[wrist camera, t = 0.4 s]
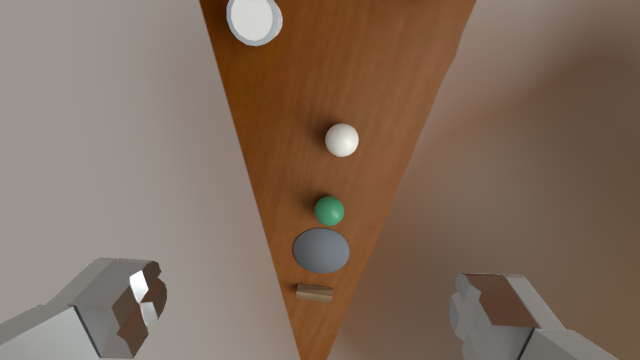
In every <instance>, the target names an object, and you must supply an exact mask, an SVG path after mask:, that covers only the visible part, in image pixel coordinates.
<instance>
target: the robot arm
mask: <svg viewBox="0 0 640 360" xmlns="http://www.w3.org/2000/svg"><path fill="white" fill-rule="evenodd" d="M160 273H161V269H160V267H159V264H158V262H155V261H150V260H135V259H113V258H99V259H96V260H94V261H93V262H92V263H91V264H90V265H89V266H88V267H86V268H85V269H84V270H83V271H82V272H81V273H80V274H79V275H78V276H77V277H76V278H74V279H73V280H72V281H71V282H70V283H69V284H68V285H67V286H66V287H65V288H64V289H62V290H61V291H60V292H59V293H58V294H57V295H56V296H55V297H54V298H53V299H52V300H51V301H50V302H49V303H47V304H46V305H38V306H36V307H34V308H32V309H30V310H28V311H26V312H24V313H22V314H20V315H18V316H16V317H14V318H12V319H10V320H8V321H5V322H3V323H1V324H0V360H100V359H99V358H130V359H131V358H132V359H133V358H134V357H135V355H136V353H137V352H138V350H139V349H140V347H141V346H142V344H143V343H144V341H145V339H146V338H147V336H148V335H149V333H148V326H149V325H151V324H152V323H153V322H155V321H156V320H158V319H159V317H160V315H161V314H162V312H163V310H164V307H165V304H166V300H167V289H166V285H165V283H164V282H162V281H161V280H160V279H159V278H158V276H159V275H160ZM455 286H456V288H457V290H458V292H456V293H455V294H454V295H453V296H451V300H450V305H449V312H450V320H451V324H452V327H453V330H454V333H455V334H456V335H457V336H458V337H459V338H460V339H461V340H462V341H464V344H463V348H462V353H463V355H464V358H465V360H619V359H617V358H615V357H614V356H612V355H611V354H609V353H608V352H606V351H604V350H603V349H601V348H600V347H598V346H597V345H595V344H594V343H592V342H591V341H589V340H587V339H586V338H584V337H583V336H581V335H580V334H578V333H576V332H575V331H572V330H566V329H565V328H564V326H563V325H562V324H561V323H560V321H559V320H558V319H557V317H556V316H555V315H554V314H553V312H552V311H551V310H550V308H549V307H548V306H547V305H546V303H545V302H544V301H543V300H542V298H541V297H540V296H539V294H538V293H537V292H536V291H535V289H534V288H533V287H532V286H531V284H530V283H529V282H528V280H527V279H526V278H525V277H523V276H522V275H515V274H514V275H512V274H499V275H497V274H473V273H472V274H471V273H460V274H459V275H458V276H457V279H456V282H455Z"/></svg>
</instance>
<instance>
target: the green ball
mask: <svg viewBox="0 0 640 360" xmlns="http://www.w3.org/2000/svg"><path fill="white" fill-rule="evenodd" d="M343 215H344V207H343V204H342V203H341V201H340V200H339V199H337V198H335V197H332V196H326V197H323V198H321V199H320V200H319V201H318V202H317V204H316V206H315V216H316V218H317V220H318V221H319V222H320V223H322V224H324V225H327V226H332V225H335V224H337V223H338V222H340V221H341V219H342V218H343Z"/></svg>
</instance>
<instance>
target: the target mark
mask: <svg viewBox="0 0 640 360" xmlns="http://www.w3.org/2000/svg"><path fill="white" fill-rule="evenodd" d="M293 253H294V257H295V259H296V261H297V262H298V263H299V264H300V265H301V266H302V267H303V268H305V269H307V270H309V271H311V272H315V273H330V272H334V271H336V270H338V269H340V268H341V267H342V266H343V265H344V264H345V263H346V262H347V260H348V258H349V246H348V243H347V241H346V240H345V238H344V237H343V236H342V235H340V234H339V233H337V232H335V231H333V230H330V229H326V228H315V229H310V230H308V231H306V232H304V233H302V234H301V235H300V236H299V237H298V238H297V239H296V241H295V243H294V247H293Z"/></svg>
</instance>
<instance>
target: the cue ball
mask: <svg viewBox="0 0 640 360" xmlns="http://www.w3.org/2000/svg"><path fill="white" fill-rule="evenodd" d="M325 142H326V146H327V148H328V150H329V151H330V152H331V153H332V154H334V155H336V156H339V157H344V156H348V155H350V154H351V153H353V152H354V151H355V149H356V148H357V145H358V134H357V132H356V130H355V129H354V128H353V127H352V126H350V125H348V124H344V123H340V124H336V125H334V126H332V127H331V128H330V129H329V130H328V132H327V134H326V138H325Z"/></svg>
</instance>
